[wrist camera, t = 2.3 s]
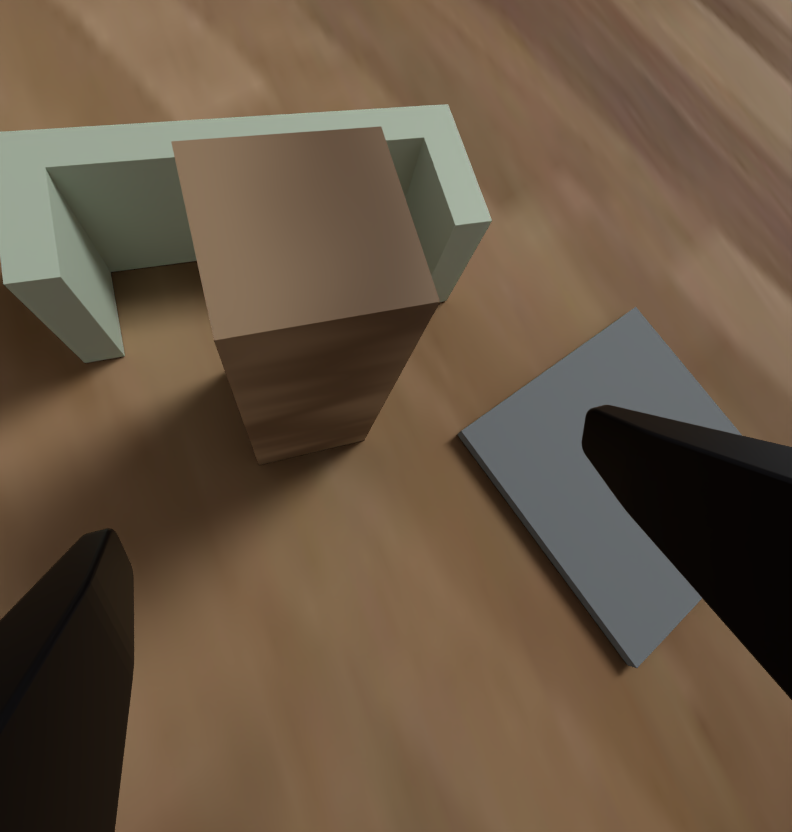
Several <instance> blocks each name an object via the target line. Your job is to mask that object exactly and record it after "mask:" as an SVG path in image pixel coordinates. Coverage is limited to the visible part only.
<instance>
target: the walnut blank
mask: <svg viewBox="0 0 792 832" xmlns="http://www.w3.org/2000/svg"><path fill="white" fill-rule="evenodd" d="M171 143H172V148H173V152H174V157H175V161H176V166H177V171H178V175H179V180H180V185H181V189H182V194H183V199H184V203H185V208H186V213H187V217H188V222H189V227H190V231H191V236H192V240H193V245H194V250H195V254H196V259H197V264H198V268H199V273H200V278H201V282H202V287H203V292H204V296H205V301H206V306H207V310H208V315H209V319H210V324H211V329H212V333H213V338H214V342H215V345H216V347H217V350H218V353H219V356H220V359H221V361H222V364H223V367H224V370H225V372H226V375H227V378H228V381H229V384H230V386H231V389H232V392H233V395H234V398H235V400H236V403H237V406H238V409H239V411H240V414H241V417H242V420H243V423H244V425H245V428H246V431H247V434H248V437H249V439H250V442H251V445H252V448H253V450H254V453H255V456H256V459H257V462H258V464H259V465H263V464H267V463H271V462H275V461H279V460H283V459H288V458H292V457H296V456H300V455H304V454H309V453H313V452H317V451H321V450H325V449H329V448H334V447H338V446H342V445H346V444H350V443H355V442H359V441H363V440H365V438H366V436H367V434H368V432H369V431H370V429H371V427H372V425H373V423H374V421H375V420H376V418H377V416H378V414H379V412H380V410H381V409H382V407H383V405H384V403H385V401H386V399H387V398H388V396H389V394H390V392H391V390H392V389H393V387H394V385H395V383H396V381H397V379H398V378H399V376H400V374H401V372H402V370H403V368H404V367H405V365H406V363H407V361H408V359H409V357H410V356H411V354H412V352H413V350H414V348H415V347H416V345H417V343H418V341H419V339H420V337H421V336H422V334H423V332H424V330H425V328H426V326H427V325H428V323H429V321H430V319H431V317H432V315H433V314H434V312H435V310H436V308H437V306H438V305H439V303H440V300H439V297H438V294H437V291H436V288H435V285H434V282H433V279H432V276H431V273H430V270H429V267H428V264H427V261H426V258H425V255H424V252H423V249H422V246H421V243H420V240H419V237H418V234H417V231H416V228H415V225H414V222H413V220H412V217H411V214H410V211H409V208H408V205H407V202H406V199H405V196H404V193H403V190H402V187H401V184H400V181H399V178H398V175H397V172H396V169H395V166H394V163H393V160H392V157H391V154H390V151H389V148H388V145H387V142H386V139H385V136H384V133H383V130H382V127H381V126H380V127H366V128H352V129H338V130H324V131H310V132H296V133H282V134H268V135H254V136H239V137H225V138H211V139H197V140H183V141H171Z"/></svg>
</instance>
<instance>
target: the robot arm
mask: <svg viewBox="0 0 792 832" xmlns="http://www.w3.org/2000/svg"><path fill="white" fill-rule="evenodd" d="M581 443H582V449H583V452H584V454H585V455H586V457H587V458H588V459H589V461H590V462H591V464H592V465H593V466H594V468H595V469H596V471H597V472H598V473H599V475H600V476H601V478H602V479H603V480H604V482H605V483H606V484H607V486H608V487H609V489H610V490H611V491H612V493H613V494H614V496H615V497H616V498H617V500H618V501H619V502H620V504H621V505H622V506H623V508H624V509H625V510H626V512H627V513H628V514H629V515H630V516H631V517H632V519H633V520H634V521H635V522H636V523H637V524H638V526H639V527H640V528H641V529H642V530H643V531H644V532H645V533H646V535H647V536H648V537H649V538H650V539H651V540H652V541H653V543H654V544H655V545H656V546H657V547H658V548H659V549H660V551H661V552H662V553H663V554H664V555H665V556H666V557H667V559H668V560H669V561H670V562H671V563H672V564H673V565H674V567H675V568H676V569H677V570H678V571H679V572H680V573H681V574H682V576H683V577H684V578H685V579H686V580H687V581H688V582H689V584H690V585H691V586H692V587H693V588H694V589H695V590H696V592H697V593H698V594H699V595H700V596H701V597H702V598H703V600H704V601H705V602H706V603H707V604H708V605H709V606H710V608H711V609H712V610H713V611H714V612H715V613H716V614H717V615H718V617H719V618H720V619H721V620H722V621H723V622H724V623H725V625H726V626H727V627H728V628H729V629H730V630H731V631H732V633H733V634H734V635H735V636H736V637H737V638H738V639H739V641H740V642H741V643H742V644H743V645H744V646H745V647H746V649H747V650H748V651H749V652H750V653H751V654H752V655H753V656H754V658H755V659H756V660H757V661H758V662H759V663H760V664H761V666H762V667H763V668H764V669H765V670H766V671H767V672H768V674H769V675H770V676H771V677H772V678H773V679H774V680H775V682H776V683H777V684H778V685H779V686H780V687H781V688H782V690H783V691H784V692H785V693H786V694H787V695H788V696H789V697H790V699H791V700H792V447H789V446H785V445H780V444H776V443H772V442H767V441H763V440H759V439H754V438H750V437H746V436H741V435H737V434H733V433H728V432H724V431H720V430H716V429H711V428H707V427H703V426H698V425H694V424H690V423H685V422H681V421H677V420H672V419H668V418H664V417H660V416H655V415H651V414H647V413H642V412H638V411H634V410H629V409H625V408H621V407H616V406H612V405H602V406H598V407H594V408H591V409H589V410H588V411H587V413H586V416H585V422H584V429H583V435H582V442H581ZM133 669H134V581H133V571H132V566H131V563H130V561H129V559H128V557H127V555H126V552H125V550H124V548H123V546H122V544H121V542H120V539H119V537H118V535H117V533H116V532H115V531H114V530H113V529H110V528H107V529H103V530H99V531H95V532H91V533H87V534H85V535H83V536H82V537H81V538H80V539H79V540H78V541H77V542H76V543H75V544H74V545H73V546H72V547H71V548H70V549H69V550H68V551H67V552H66V553H65V554H64V555H63V556H62V557H61V558H60V559H59V560H58V561H57V562H56V563H55V564H54V565H53V566H52V567H51V569H50V570H49V571H48V572H47V573H46V574H45V575H44V576H43V577H42V578H41V579H40V580H39V581H38V582H37V583H36V584H35V585H34V586H33V587H32V588H31V589H30V590H29V591H28V592H27V593H26V594H25V595H24V596H23V597H22V598H21V599H20V600H19V602H18V603H17V604H16V605H15V606H14V607H13V608H12V609H11V610H10V611H9V612H8V613H7V614H6V615H5V616H4V617H3V618H2V619H1V620H0V832H115V824H116V815H117V807H118V798H119V790H120V782H121V773H122V765H123V756H124V748H125V739H126V731H127V722H128V714H129V706H130V697H131V689H132V680H133Z"/></svg>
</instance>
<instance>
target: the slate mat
mask: <svg viewBox="0 0 792 832" xmlns="http://www.w3.org/2000/svg"><path fill="white" fill-rule="evenodd" d="M602 405H612V406H616V407H621V408H625V409H629V410H634V411H638V412H642V413H647V414H651V415H655V416H660V417H664V418H668V419H672V420H677V421H681V422H685V423H690V424H694V425H698V426H703V427H707V428H711V429H716V430H720V431H724V432H728V433H733V434H737V435H741V434H740V432H739V431H738V430H737V429H736V428H735V426H734V425H733V424H732V423H731V422H730V420H729V419H728V418H727V417H726V415H725V414H724V413H723V412H722V411H721V409H720V408H719V407H718V406H717V405H716V403H715V402H714V401H713V400H712V399H711V397H710V396H709V395H708V394H707V393H706V391H705V390H704V389H703V388H702V386H701V385H700V384H699V383H698V382H697V380H696V379H695V378H694V377H693V376H692V374H691V373H690V372H689V371H688V370H687V368H686V367H685V366H684V365H683V363H682V362H681V361H680V360H679V359H678V357H677V356H676V355H675V354H674V353H673V351H672V350H671V349H670V348H669V347H668V345H667V344H666V343H665V342H664V340H663V339H662V338H661V337H660V336H659V334H658V333H657V332H656V331H655V330H654V328H653V327H652V326H651V325H650V324H649V322H648V321H647V320H646V319H645V318H644V316H643V315H642V314H641V313H640V311H639V310H638V309H637V308H636V307H635V308H634V309H632V310H631V311H629V312H628V313H627V314H625V315H624V316H622V317H621V318H620V319H618V320H617V321H615V322H614V323H612V324H611V325H610V326H608V327H607V328H605V329H604V330H603V331H601V332H600V333H598V334H597V335H596V336H594V337H593V338H591V339H590V340H589V341H587V342H586V343H584V344H583V345H582V346H580V347H579V348H577V349H576V350H575V351H573V352H572V353H570V354H569V355H567V356H566V357H565V358H563V359H562V360H560V361H559V362H558V363H556V364H555V365H553V366H552V367H551V368H549V369H548V370H546V371H545V372H544V373H542V374H541V375H539V376H538V377H537V378H535V379H534V380H532V381H531V382H530V383H528V384H527V385H525V386H524V387H522V388H521V389H520V390H518V391H517V392H515V393H514V394H513V395H511V396H510V397H508V398H507V399H506V400H504V401H503V402H501V403H500V404H499V405H497V406H496V407H494V408H493V409H492V410H490V411H489V412H487V413H486V414H484V415H483V416H482V417H480V418H479V419H477V420H476V421H475V422H473V423H472V424H470V425H469V426H468V427H466V428H465V429H463V430H462V431H461V432H459V433H458V434H457V435H458V436H459V438H460V439H461V440H462V442H463V443H464V444H465V446H466V447H467V448H468V450H469V451H470V452H471V454H472V455H473V457H474V458H475V459H476V461H477V462H478V463H479V465H480V466H481V467H482V469H483V470H484V471H485V473H486V474H487V475H488V477H489V478H490V480H491V481H492V482H493V484H494V485H495V486H496V488H497V489H498V490H499V492H500V493H501V494H502V496H503V497H504V498H505V500H506V501H507V503H508V504H509V505H510V507H511V508H512V509H513V511H514V512H515V513H516V515H517V516H518V517H519V519H520V520H521V521H522V523H523V524H524V526H525V527H526V528H527V530H528V531H529V532H530V534H531V535H532V536H533V538H534V539H535V540H536V542H537V543H538V545H539V546H540V547H541V549H542V550H543V551H544V553H545V554H546V555H547V557H548V558H549V559H550V561H551V562H552V563H553V565H554V566H555V568H556V569H557V570H558V572H559V573H560V574H561V576H562V577H563V578H564V580H565V581H566V582H567V584H568V585H569V586H570V588H571V589H572V591H573V592H574V593H575V595H576V596H577V597H578V599H579V600H580V601H581V603H582V604H583V605H584V607H585V608H586V609H587V611H588V612H589V614H590V615H591V616H592V618H593V619H594V620H595V622H596V623H597V624H598V626H599V627H600V628H601V630H602V631H603V632H604V634H605V635H606V637H607V638H608V639H609V641H610V642H611V643H612V645H613V646H614V647H615V649H616V650H617V651H618V653H619V654H620V656H621V657H622V658H623V660H624V661H625V662H626V664H627V665H628V666H632V667H635V668H638V667H639V665H640V664H641V663H642V662H643V661H644V660H645V659H646V658H647V657H648V656H649V655H650V654H651V653H652V651H653V650H654V649H655V648H656V647H657V646H658V645H659V644H660V643H661V642H662V641H663V640H664V639H665V638H666V636H667V635H668V634H669V633H670V632H671V631H672V630H673V629H674V628H675V627H676V626H677V625H678V624H679V622H680V621H681V620H682V619H683V618H684V617H685V616H686V615H687V614H688V613H689V612H690V611H691V610H692V609H693V607H694V606H695V605H696V604H697V603H698V602H699V601H700V600H701V599H702V597H701V596H700V595H699V594H698V593H697V592H696V590H695V589H694V588H693V587H692V586H691V585H690V584H689V582H688V581H687V580H686V579H685V578H684V577H683V576H682V574H681V573H680V572H679V571H678V570H677V569H676V568H675V567H674V565H673V564H672V563H671V562H670V561H669V560H668V559H667V557H666V556H665V555H664V554H663V553H662V552H661V551H660V549H659V548H658V547H657V546H656V545H655V544H654V543H653V541H652V540H651V539H650V538H649V537H648V536H647V535H646V533H645V532H644V531H643V530H642V529H641V528H640V527H639V526H638V524H637V523H636V522H635V521H634V520H633V519H632V517H631V516H630V515H629V514H628V513H627V512H626V510H625V509H624V508H623V506H622V505H621V504H620V502H619V501H618V500H617V498H616V497H615V496H614V494H613V493H612V491H611V490H610V489H609V487H608V486H607V484H606V483H605V482H604V480H603V479H602V478H601V476H600V475H599V473H598V472H597V471H596V469H595V468H594V466H593V465H592V464H591V462H590V461H589V459H588V458H587V457H586V455H585V454H584V452H583V449H582V443H581V442H582V435H583V429H584V422H585V416H586V413H587V411H588V410H589V409H591V408H594V407H598V406H602ZM741 436H742V435H741Z"/></svg>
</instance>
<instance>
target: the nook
mask: <svg viewBox="0 0 792 832" xmlns="http://www.w3.org/2000/svg"><path fill="white" fill-rule="evenodd" d="M380 126H381V127H382V130H383V133H384V136H385V139H386V142H387V145H388V148H389V151H390V154H391V157H392V160H393V163H394V166H395V169H396V172H397V175H398V178H399V181H400V184H401V187H402V190H403V193H404V196H405V199H406V202H407V205H408V208H409V211H410V214H411V217H412V220H413V222H414V225H415V228H416V231H417V234H418V237H419V240H420V243H421V246H422V249H423V252H424V255H425V258H426V261H427V264H428V267H429V270H430V273H431V276H432V279H433V282H434V285H435V288H436V291H437V294H438V297H439V300H440V302H443V301H447V299H448V297H449V295H450V294H451V292H452V290H453V288H454V287H455V285H456V283H457V281H458V280H459V278H460V276H461V274H462V273H463V271H464V269H465V267H466V265H467V264H468V262H469V260H470V258H471V257H472V255H473V253H474V251H475V250H476V248H477V246H478V244H479V243H480V241H481V239H482V237H483V236H484V234H485V232H486V230H487V229H488V227H489V225H490V223H491V222H492V219H491V217H490V214H489V211H488V209H487V206H486V204H485V201H484V198H483V196H482V193H481V190H480V188H479V185H478V182H477V180H476V177H475V174H474V172H473V169H472V167H471V164H470V161H469V159H468V156H467V153H466V151H465V148H464V145H463V143H462V140H461V137H460V135H459V132H458V130H457V127H456V124H455V122H454V119H453V116H452V114H451V111H450V108H449V106H448V104H445V105H429V106H413V107H397V108H380V109H364V110H348V111H332V112H315V113H299V114H283V115H267V116H250V117H234V118H218V119H202V120H185V121H169V122H153V123H137V124H120V125H104V126H88V127H72V128H55V129H39V130H23V131H7V132H0V258H1V267H2V276H3V284H4V285H5V286H6V287H7V288H8V289H9V290H10V291H11V292H12V293H13V294H14V295H15V296H16V297H17V298H18V299H19V300H20V301H21V302H22V303H23V304H24V305H25V306H26V307H27V308H28V309H30V310H31V311H32V312H33V313H34V314H35V315H36V316H37V317H38V318H39V319H40V320H41V321H42V322H43V323H44V324H45V325H46V326H47V327H48V328H49V329H50V330H51V331H52V332H53V333H54V334H55V335H56V336H57V337H58V338H60V339H61V340H62V341H63V342H64V343H65V344H66V345H67V346H68V347H69V348H70V349H71V350H72V351H73V352H74V353H75V354H76V355H77V356H78V357H79V358H80V359H81V360H82V361H83V362H84V363H88V362H94V361H100V360H105V359H111V358H117V357H123V356H125V354H124V348H123V342H122V336H121V330H120V324H119V318H118V312H117V307H116V301H115V295H114V289H113V283H112V277H111V272H115V271H123V270H130V269H138V268H146V267H153V266H161V265H169V264H176V263H184V262H191V261H197V259H196V254H195V250H194V245H193V240H192V236H191V231H190V227H189V222H188V217H187V213H186V208H185V203H184V199H183V194H182V189H181V185H180V180H179V175H178V171H177V166H176V161H175V157H174V152H173V148H172V143H171V141H183V140H197V139H211V138H225V137H239V136H254V135H268V134H282V133H296V132H310V131H324V130H338V129H352V128H366V127H380Z"/></svg>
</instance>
